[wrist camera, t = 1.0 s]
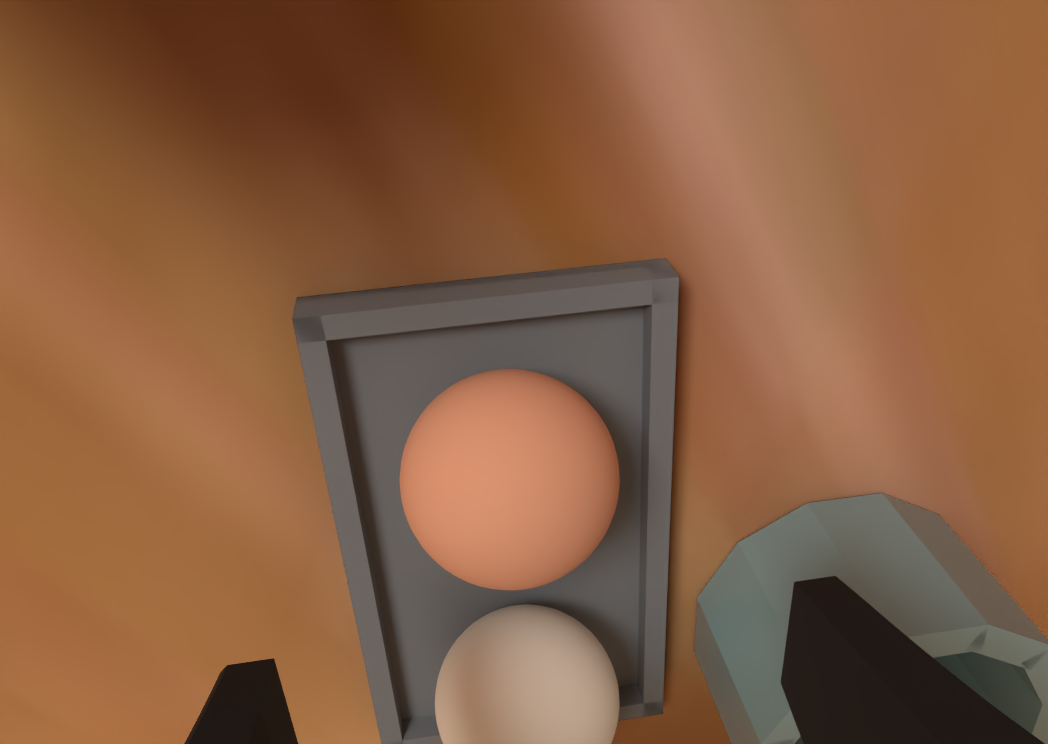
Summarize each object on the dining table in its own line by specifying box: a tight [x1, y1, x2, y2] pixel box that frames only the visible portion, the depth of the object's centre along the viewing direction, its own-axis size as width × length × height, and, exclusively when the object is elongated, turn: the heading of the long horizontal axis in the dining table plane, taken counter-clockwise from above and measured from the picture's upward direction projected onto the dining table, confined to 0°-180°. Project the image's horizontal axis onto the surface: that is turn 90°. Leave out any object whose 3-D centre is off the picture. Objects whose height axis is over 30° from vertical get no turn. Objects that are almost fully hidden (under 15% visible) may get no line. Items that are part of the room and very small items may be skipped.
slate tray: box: [292, 258, 679, 744], centre depth 19 cm, size 7×12×1 cm, turn 3°
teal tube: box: [694, 493, 1048, 744], centre depth 20 cm, size 7×7×4 cm
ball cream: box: [435, 604, 620, 744], centre depth 19 cm, size 4×4×4 cm
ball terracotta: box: [399, 369, 620, 590], centre depth 16 cm, size 4×4×4 cm
